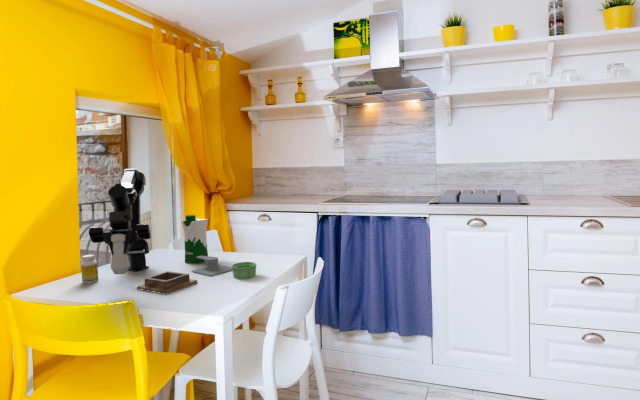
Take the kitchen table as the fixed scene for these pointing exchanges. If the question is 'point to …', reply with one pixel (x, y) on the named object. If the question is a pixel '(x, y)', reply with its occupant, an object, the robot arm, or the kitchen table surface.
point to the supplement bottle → (89, 269)
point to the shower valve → (211, 267)
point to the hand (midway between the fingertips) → (118, 254)
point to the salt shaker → (119, 255)
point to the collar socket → (167, 282)
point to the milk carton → (194, 239)
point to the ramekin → (244, 270)
